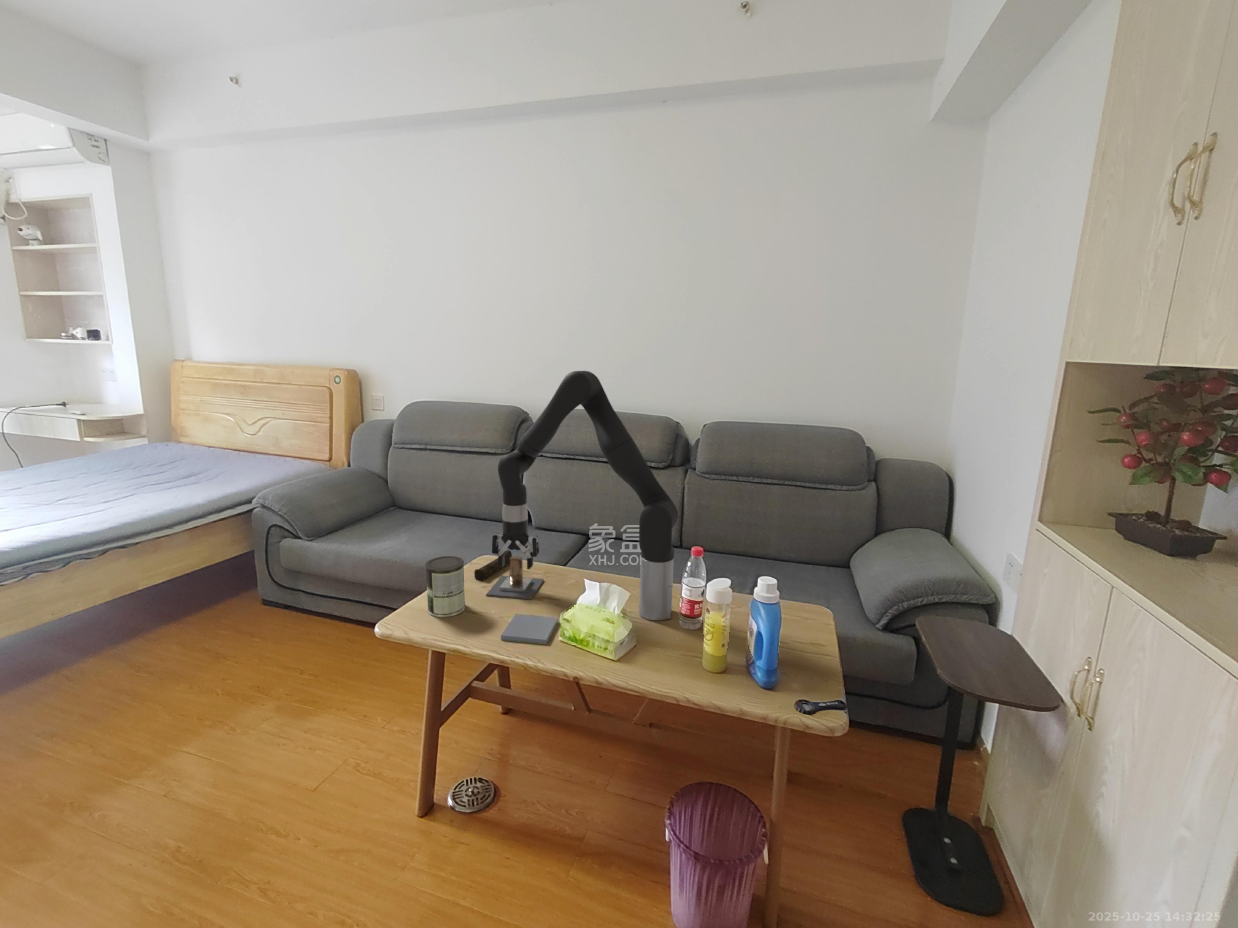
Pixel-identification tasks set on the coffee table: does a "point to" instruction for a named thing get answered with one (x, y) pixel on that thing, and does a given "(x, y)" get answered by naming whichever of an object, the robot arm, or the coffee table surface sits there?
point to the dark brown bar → (491, 567)
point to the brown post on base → (516, 577)
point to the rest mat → (518, 595)
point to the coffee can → (445, 586)
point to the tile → (530, 629)
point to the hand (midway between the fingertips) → (515, 567)
